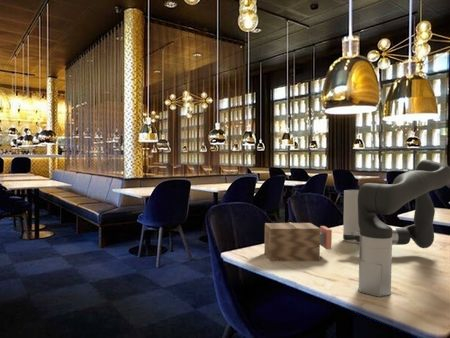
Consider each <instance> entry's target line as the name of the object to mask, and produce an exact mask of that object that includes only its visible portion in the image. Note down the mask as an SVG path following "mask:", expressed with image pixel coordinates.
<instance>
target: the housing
mask: <svg viewBox="0 0 450 338" xmlns="http://www.w3.org/2000/svg"><path fill="white" fill-rule="evenodd" d="M320 251H321V245H320V227H318V226H316V225H314V224H313V223H312V222H290V221H289V222H274V223H273V222H265V223H264V255H265V256H266V258H267V259H268V260H269V262H320V258H321V257H320V254H321V252H320Z"/></svg>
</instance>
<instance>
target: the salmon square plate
mask: <svg viewBox="0 0 450 338" xmlns="http://www.w3.org/2000/svg"><path fill="white" fill-rule="evenodd" d="M319 228H320V247H322V248H324V249H325V250H332V245H333V244H332V240H333V238H332V236H333V235H332V233H333V230H332V229H331V228H329V227H327V226H325V225H320V226H319Z"/></svg>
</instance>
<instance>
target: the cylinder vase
mask: <svg viewBox="0 0 450 338" xmlns="http://www.w3.org/2000/svg"><path fill="white" fill-rule="evenodd" d="M358 192H359V189H347V190H346V189H345V190H343V227H342V228H343V230H342V231H343V233H342V236H343V235H344V234H351V233H352V232H355V231H360V228H359V224H358ZM344 241H345V242H346V243H351V244H359V245H360V242H357V241H354V240H344Z"/></svg>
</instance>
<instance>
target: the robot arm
mask: <svg viewBox="0 0 450 338" xmlns="http://www.w3.org/2000/svg"><path fill="white" fill-rule="evenodd" d="M449 182H450V166H449V165H448V164H445V163H442V162H437V161H435V160H434V161H433V160H431V159H426V158H425V159H424V158H423V159H422V160H421V161H419V162H418V164H417V165H416V169H415V170H409V171H406V172H403V173H401V174H398V176H395V178H394V180H393V182H392V183H391V184H388V183H374V182H366V183H363V184H362V185H361V186H360V187H359V189H358V190H359V192H358V224H359V228H360V231H355V232H352V233H351V234H344V235H343V234H342V239H343V240H344V241H345V240H354V241H357V242H360V244H359V247H358V248H359V249H358V251H359V252H358V253H359V254H358V255H359V256H358V291H359V292H360V293H363V294H366V295H370V296H374V297H379V298H381V297H386V296H389V295H390V294H392V267H393V266H392V263H393V261H392V257H393V246H397V245H399V246H400V245H401V246H402V245H407V244H409V243H410V242H411V240H412V241H413V242H414V243H415V245H416V246H417V247H419V248H422V249H427V248H429V247H431V246H432V245H433V243H434V241H435V231H434V225H433V224H434V218H435V213H436V212H435V211H436V210H435V206H434V203H433V201H432V198H431V196H430V194H429V192H431V191H434V190H439V189H442V188H443V187H445V186H446V185H447V184H448V183H449ZM412 200H415V208H414V213H413V214H414V215H413V223H414V224H411V225H406V226H403V227H392V226H390V225H388V224H386V223H385V222H383V221H382V220H380V219H379V217H378V216H377V215H385V216H386V215H393V214H395V213H396V212H397V211H398V210H400V209H401V208H402V207H403V206H405V204H407V203H409V202H411V201H412Z"/></svg>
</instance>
